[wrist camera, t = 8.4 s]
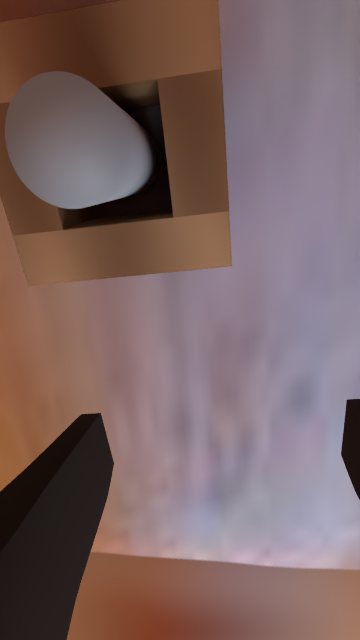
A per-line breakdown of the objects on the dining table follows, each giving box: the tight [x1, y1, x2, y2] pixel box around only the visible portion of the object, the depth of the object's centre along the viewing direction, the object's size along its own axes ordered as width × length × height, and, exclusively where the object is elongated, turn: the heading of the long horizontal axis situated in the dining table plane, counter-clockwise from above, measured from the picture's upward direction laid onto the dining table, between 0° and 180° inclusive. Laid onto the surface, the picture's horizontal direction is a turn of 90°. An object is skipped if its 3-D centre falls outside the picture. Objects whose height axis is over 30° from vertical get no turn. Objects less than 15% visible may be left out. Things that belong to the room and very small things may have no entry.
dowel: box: [5, 71, 160, 209], centre depth 12 cm, size 3×3×8 cm
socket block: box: [0, 0, 232, 286], centre depth 14 cm, size 9×9×4 cm
